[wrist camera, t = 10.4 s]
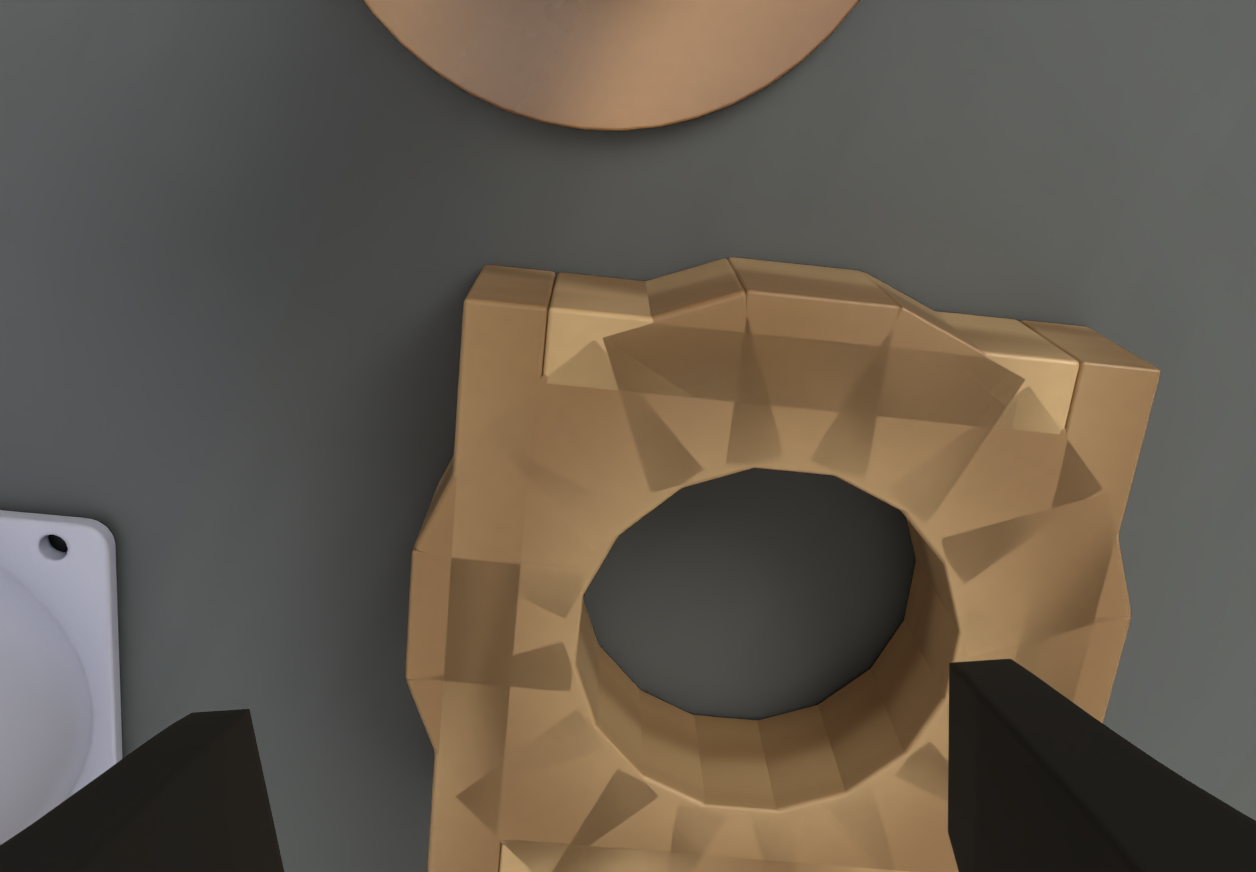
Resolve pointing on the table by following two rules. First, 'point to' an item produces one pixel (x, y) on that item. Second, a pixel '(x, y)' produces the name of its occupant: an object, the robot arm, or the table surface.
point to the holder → (722, 445)
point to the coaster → (611, 53)
